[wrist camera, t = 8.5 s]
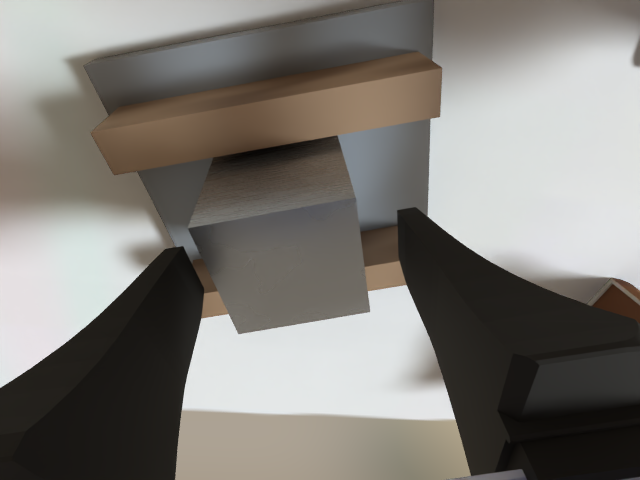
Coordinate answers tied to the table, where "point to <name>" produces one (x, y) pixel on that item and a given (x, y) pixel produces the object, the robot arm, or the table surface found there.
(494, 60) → the table surface
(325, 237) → the steel block
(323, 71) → the slot seat
